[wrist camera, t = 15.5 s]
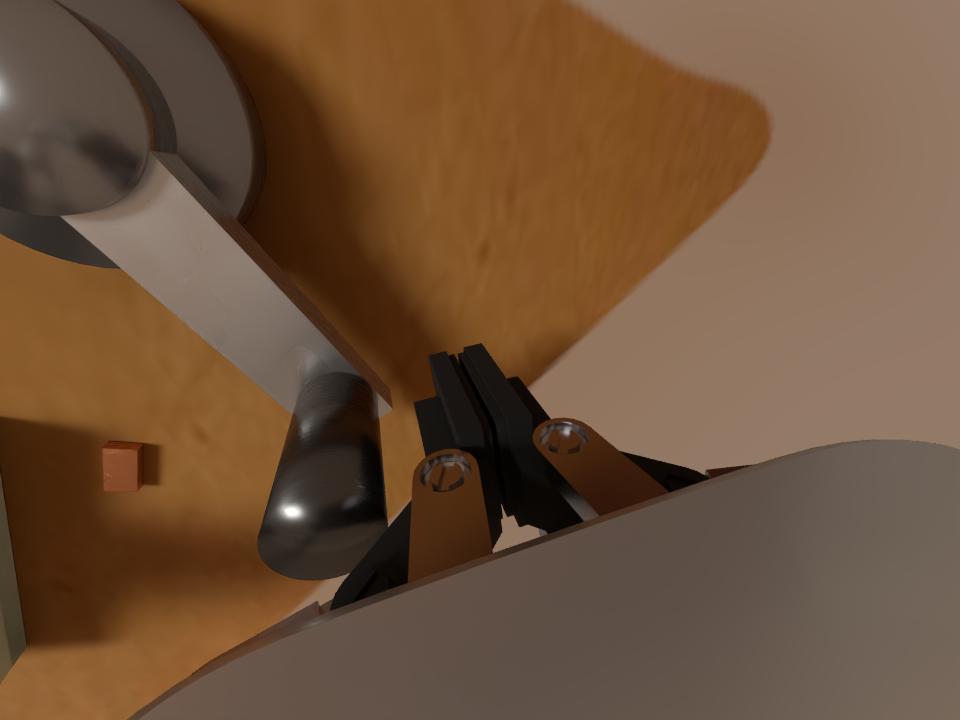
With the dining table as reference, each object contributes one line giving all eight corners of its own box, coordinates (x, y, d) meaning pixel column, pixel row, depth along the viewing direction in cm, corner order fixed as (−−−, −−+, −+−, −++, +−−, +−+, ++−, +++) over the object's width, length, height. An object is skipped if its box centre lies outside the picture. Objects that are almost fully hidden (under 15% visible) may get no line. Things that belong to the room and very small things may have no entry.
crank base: (230, 488, 16) (215, 526, 14) (1, 479, 13) (-53, 525, 12) (279, 39, 10) (264, 12, 9) (-92, -126, 8) (-219, -212, 6)
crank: (-117, 67, 7) (-1515, -261, 2) (46, -49, 7) (-885, -724, 2) (317, 438, 14) (288, 616, 8) (408, 376, 14) (441, 512, 8)
